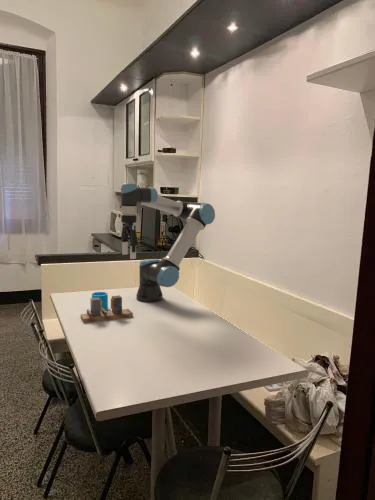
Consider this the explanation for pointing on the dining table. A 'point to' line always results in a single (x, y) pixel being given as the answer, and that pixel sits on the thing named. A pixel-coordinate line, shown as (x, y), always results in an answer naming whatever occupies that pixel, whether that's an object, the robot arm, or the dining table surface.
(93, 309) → the dark grey upright block
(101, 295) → the mug
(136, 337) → the dining table surface
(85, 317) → the rail
